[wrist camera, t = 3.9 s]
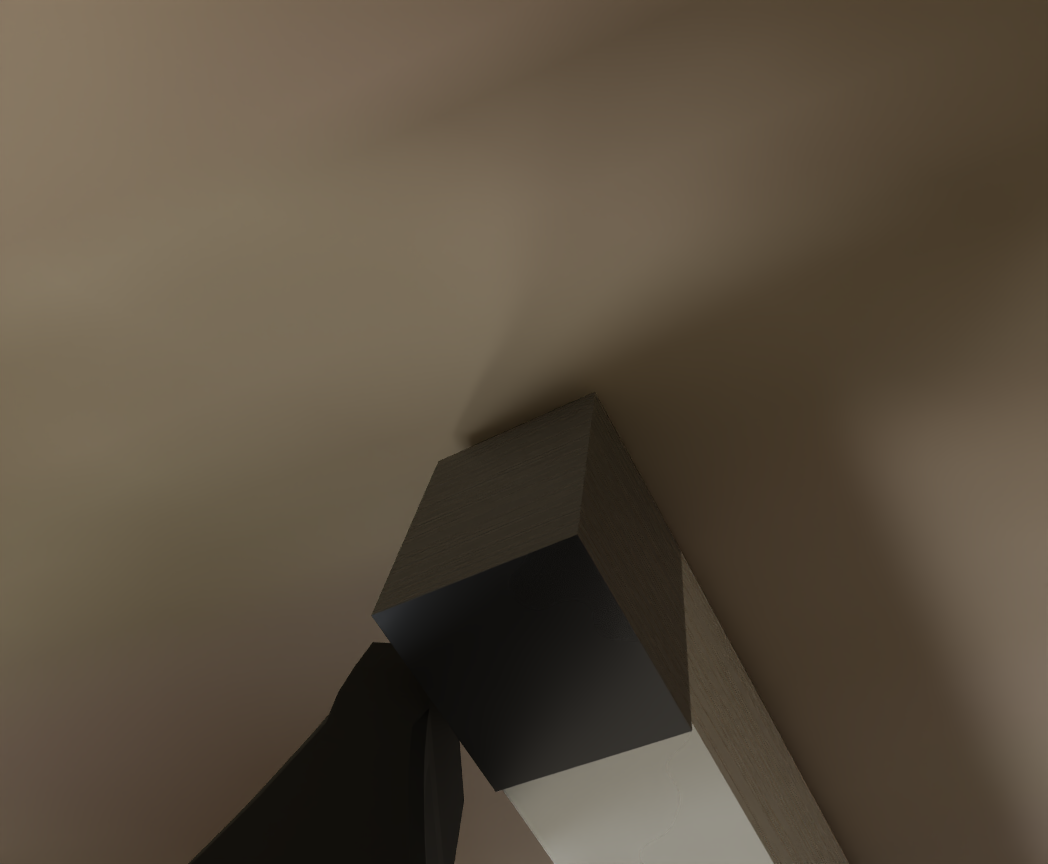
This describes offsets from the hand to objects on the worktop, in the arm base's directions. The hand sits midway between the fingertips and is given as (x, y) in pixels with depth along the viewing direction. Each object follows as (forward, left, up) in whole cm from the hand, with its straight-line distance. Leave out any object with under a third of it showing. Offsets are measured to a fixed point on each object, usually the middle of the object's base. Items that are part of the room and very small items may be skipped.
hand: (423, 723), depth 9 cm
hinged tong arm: (+6, -7, -1) cm, 9 cm away
